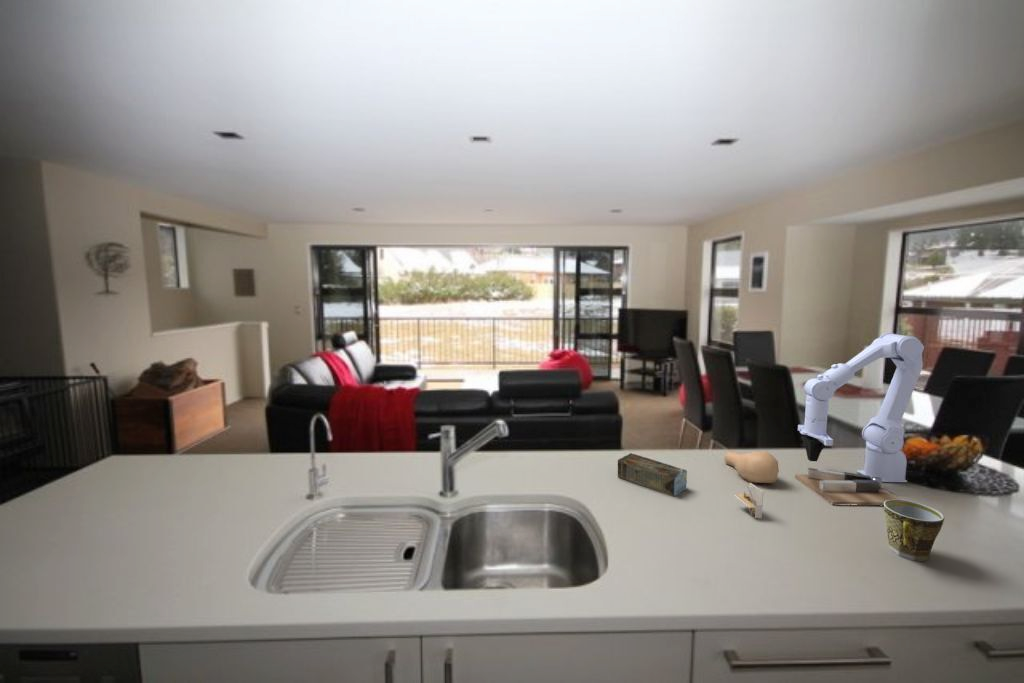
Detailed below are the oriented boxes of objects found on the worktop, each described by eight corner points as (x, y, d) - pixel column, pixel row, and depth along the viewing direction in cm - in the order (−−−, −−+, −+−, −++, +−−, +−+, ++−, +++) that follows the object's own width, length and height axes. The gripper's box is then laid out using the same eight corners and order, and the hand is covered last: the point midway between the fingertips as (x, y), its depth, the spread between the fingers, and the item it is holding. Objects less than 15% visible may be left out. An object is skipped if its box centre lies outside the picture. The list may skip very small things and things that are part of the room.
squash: (758, 491, 132) (752, 461, 132) (716, 473, 152) (711, 446, 152) (790, 482, 134) (784, 452, 134) (744, 464, 154) (739, 438, 154)
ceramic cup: (884, 535, 108) (888, 495, 107) (942, 553, 101) (947, 510, 99) (872, 557, 100) (876, 513, 98) (934, 578, 92) (939, 531, 91)
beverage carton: (674, 498, 128) (675, 475, 128) (615, 478, 142) (616, 457, 141) (687, 489, 134) (688, 467, 133) (629, 471, 148) (630, 451, 147)
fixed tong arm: (873, 489, 130) (874, 480, 129) (878, 492, 128) (879, 482, 128) (819, 489, 131) (819, 479, 130) (823, 492, 129) (823, 482, 128)
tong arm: (880, 486, 131) (881, 477, 131) (882, 489, 129) (883, 480, 129) (807, 475, 140) (807, 466, 139) (807, 478, 138) (808, 469, 137)
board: (858, 478, 140) (859, 475, 140) (906, 506, 122) (906, 502, 122) (794, 477, 141) (795, 474, 141) (832, 505, 123) (832, 501, 123)
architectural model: (749, 520, 116) (751, 492, 115) (734, 507, 123) (735, 481, 122) (762, 520, 117) (764, 492, 116) (746, 507, 124) (747, 480, 123)
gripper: (789, 411, 148) (786, 451, 150) (816, 424, 134) (813, 469, 135) (812, 411, 148) (808, 452, 150) (841, 425, 134) (837, 469, 135)
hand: (812, 460), depth 142 cm, fingers closed
